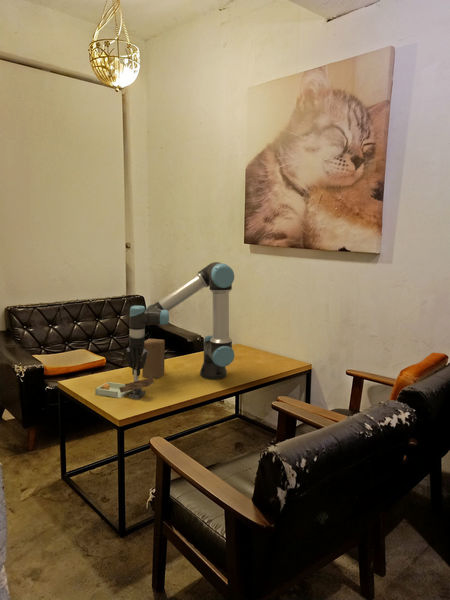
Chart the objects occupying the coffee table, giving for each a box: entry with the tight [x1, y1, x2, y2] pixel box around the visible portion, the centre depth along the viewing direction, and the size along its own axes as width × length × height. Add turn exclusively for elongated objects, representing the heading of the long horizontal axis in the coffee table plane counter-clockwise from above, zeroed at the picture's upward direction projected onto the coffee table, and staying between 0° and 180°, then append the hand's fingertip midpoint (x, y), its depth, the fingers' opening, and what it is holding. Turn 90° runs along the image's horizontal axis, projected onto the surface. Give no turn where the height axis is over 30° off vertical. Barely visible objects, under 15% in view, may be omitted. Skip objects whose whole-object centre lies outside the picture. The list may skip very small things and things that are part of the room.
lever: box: [119, 376, 155, 393], centre depth 226 cm, size 16×14×4 cm
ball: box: [102, 383, 110, 390], centre depth 228 cm, size 4×4×4 cm
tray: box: [95, 381, 133, 399], centre depth 227 cm, size 14×11×3 cm
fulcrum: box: [128, 388, 146, 400], centre depth 223 cm, size 5×7×4 cm
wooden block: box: [141, 338, 166, 379], centre depth 254 cm, size 10×10×20 cm
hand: (136, 381), depth 232 cm, fingers closed
